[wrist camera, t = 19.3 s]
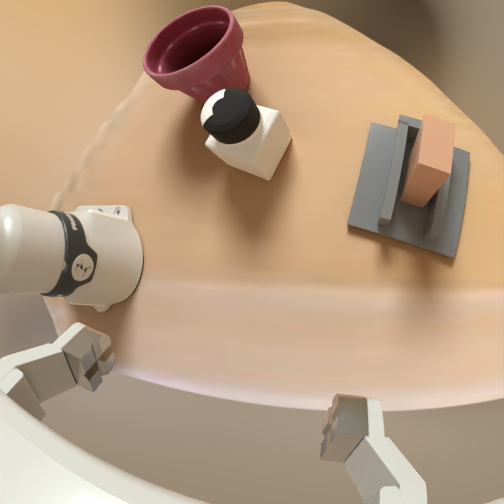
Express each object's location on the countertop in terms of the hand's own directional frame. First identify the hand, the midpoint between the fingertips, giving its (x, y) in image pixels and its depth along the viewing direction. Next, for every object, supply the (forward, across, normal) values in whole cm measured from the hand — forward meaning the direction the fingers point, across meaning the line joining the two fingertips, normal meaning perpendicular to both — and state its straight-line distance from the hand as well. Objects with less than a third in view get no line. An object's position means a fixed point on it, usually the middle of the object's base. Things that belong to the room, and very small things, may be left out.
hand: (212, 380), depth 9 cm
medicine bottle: (+35, +6, -4) cm, 35 cm away
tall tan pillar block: (+29, -15, -4) cm, 33 cm away
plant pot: (+42, +14, -14) cm, 46 cm away
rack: (+30, -15, -4) cm, 33 cm away
